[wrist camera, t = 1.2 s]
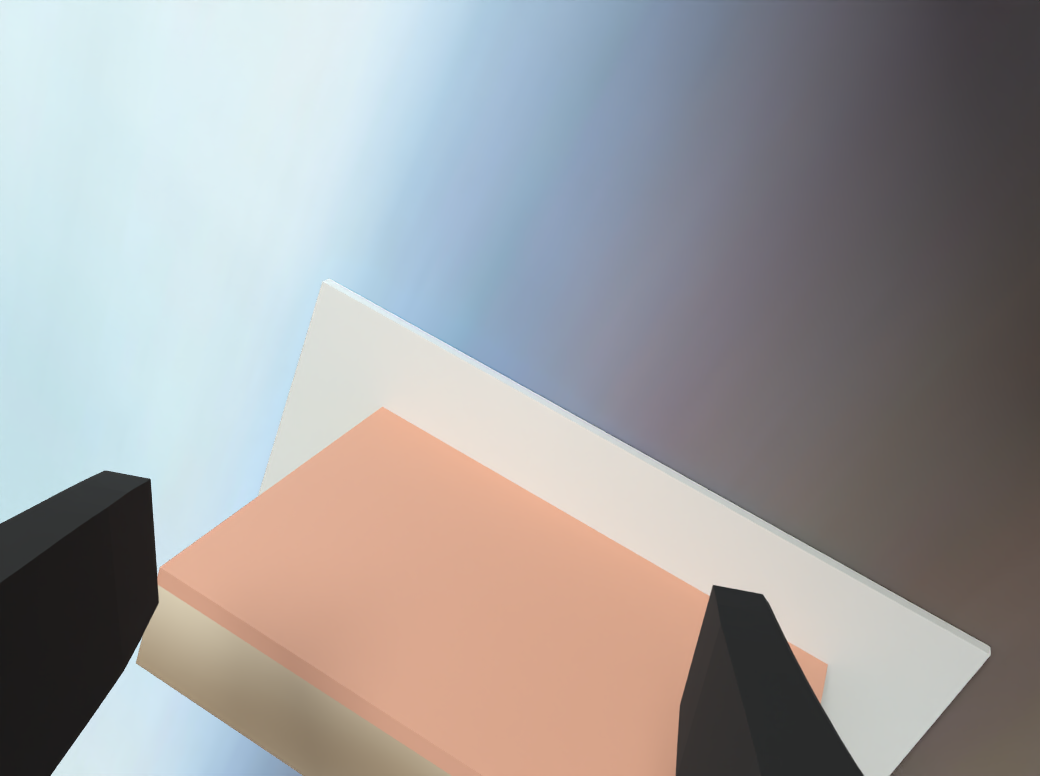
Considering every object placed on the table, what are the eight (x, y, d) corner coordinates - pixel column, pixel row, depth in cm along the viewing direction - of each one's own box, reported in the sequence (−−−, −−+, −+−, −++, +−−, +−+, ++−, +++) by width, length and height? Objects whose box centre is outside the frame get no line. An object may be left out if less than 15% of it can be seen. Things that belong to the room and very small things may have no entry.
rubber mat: (990, 646, 21) (990, 654, 21) (685, 1011, 28) (683, 1020, 28) (329, 278, 24) (322, 281, 24) (204, 690, 31) (197, 695, 31)
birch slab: (382, 406, 25) (159, 566, 18) (827, 664, 22) (773, 963, 15) (354, 484, 26) (136, 662, 19) (775, 736, 24) (702, 1044, 17)
